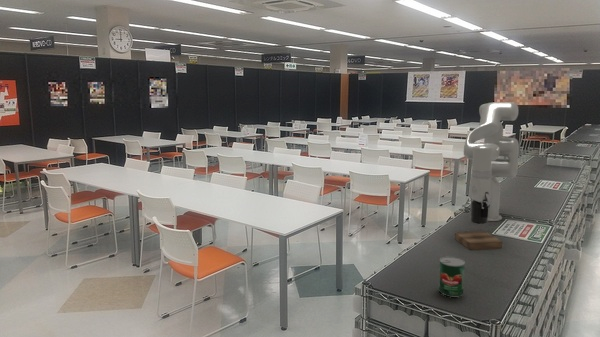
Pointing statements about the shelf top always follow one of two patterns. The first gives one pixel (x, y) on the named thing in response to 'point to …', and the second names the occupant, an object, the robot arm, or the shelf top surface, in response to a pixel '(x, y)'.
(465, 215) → the shelf top surface
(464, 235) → the wavy wooden tray
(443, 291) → the canned tomato
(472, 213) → the supplement bottle
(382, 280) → the shelf top surface
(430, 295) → the shelf top surface
